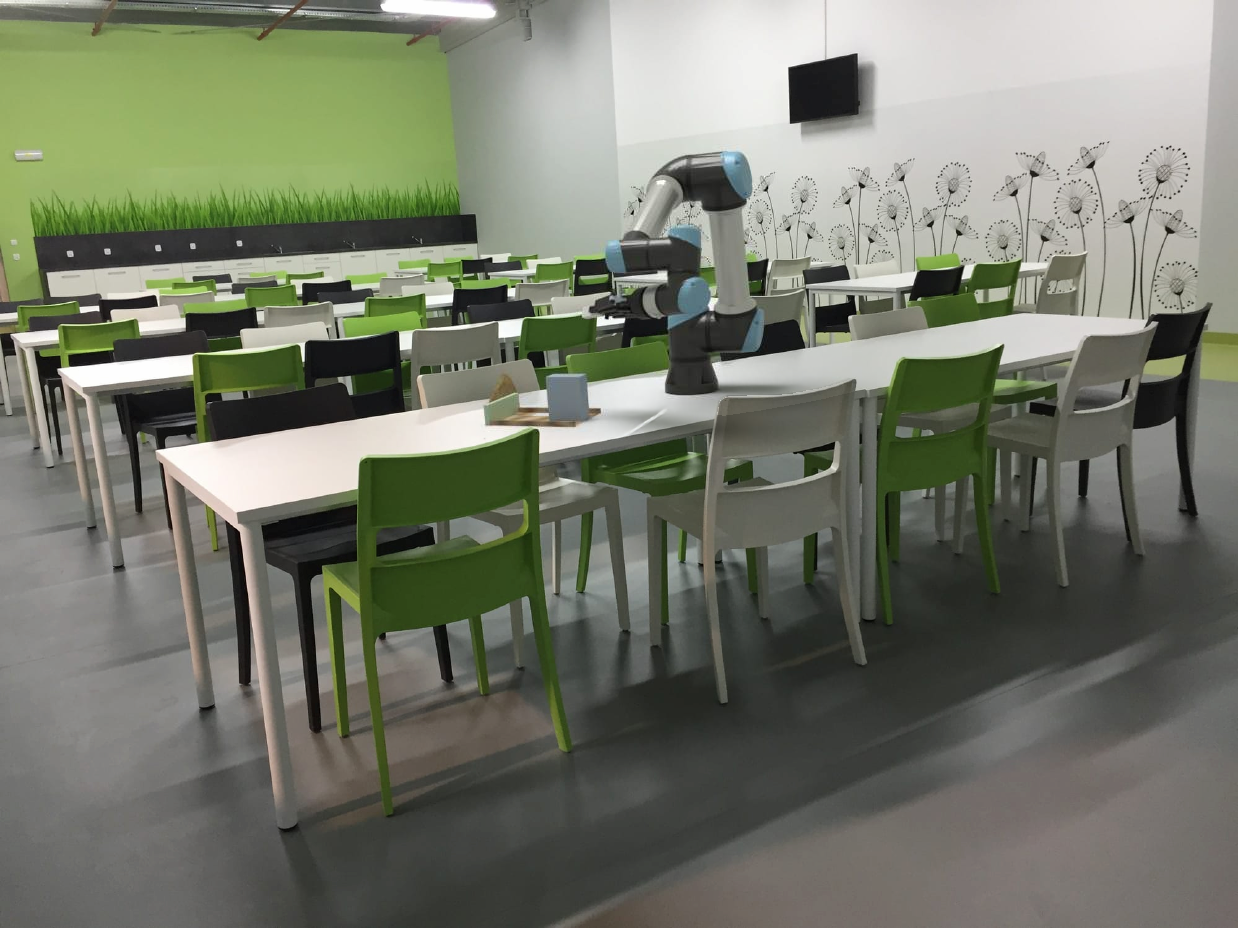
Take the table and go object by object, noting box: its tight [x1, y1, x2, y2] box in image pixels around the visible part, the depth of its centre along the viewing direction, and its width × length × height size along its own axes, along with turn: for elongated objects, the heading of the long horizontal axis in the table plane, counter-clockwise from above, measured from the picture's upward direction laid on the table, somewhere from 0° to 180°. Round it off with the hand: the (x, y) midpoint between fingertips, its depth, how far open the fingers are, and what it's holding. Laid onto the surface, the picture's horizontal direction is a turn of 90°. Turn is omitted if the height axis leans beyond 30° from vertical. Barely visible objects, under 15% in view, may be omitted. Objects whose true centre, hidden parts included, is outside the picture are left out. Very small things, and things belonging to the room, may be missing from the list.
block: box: [545, 373, 590, 421], centre depth 246 cm, size 9×4×11 cm, turn 68°
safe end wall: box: [483, 392, 521, 426], centre depth 254 cm, size 1×17×6 cm, turn 158°
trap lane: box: [489, 406, 602, 428], centre depth 250 cm, size 23×17×2 cm
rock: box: [488, 373, 521, 405], centre depth 268 cm, size 11×9×10 cm
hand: (584, 312), depth 249 cm, fingers closed
